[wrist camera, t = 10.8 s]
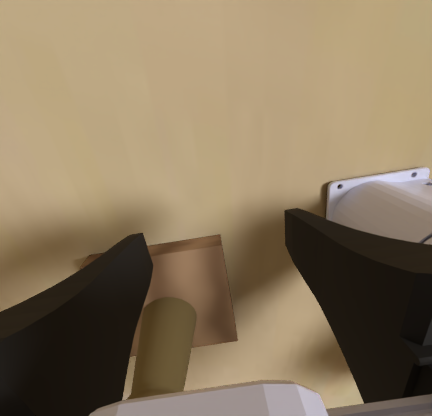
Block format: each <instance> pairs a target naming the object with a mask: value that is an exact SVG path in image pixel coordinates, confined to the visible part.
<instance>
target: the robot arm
mask: <svg viewBox="0 0 432 416" xmlns="http://www.w3.org/2000/svg"><path fill="white" fill-rule="evenodd" d="M412 173H413V175H412ZM429 173H430V170H429V168H426V167H420V168H414V169H408V170H401V171H395V172H389V173H383V174H377V175H370V176H364V177H358V178H352V179H345V180H339V181H333V182H331V183H329V185H328V191H327V209H326V219H325V218H322V217H319V216H317V215H314V214H312V213H309V212H307V211H304V210H301V209H298V208H296V209H289V210H285V243H286V247H287V249H288V252H289V254H290V256H291V258H292V261H293V262H294V264H295V266H296V267H297V269H298V271H299V272H300V274H301V275H302V277H303V279H304V280H305V282H306V283H307V285H308V286H309V288H310V290H311V291H312V293H313V294H314V296H315V298H316V299H317V301H318V303H319V305H320V306H321V308H322V310H323V312H324V314H325V316H326V319H327V321H328V323H329V325H330V327H331V329H332V331H333V333H334V335H335V337H336V340H337V342H338V344H339V346H340V348H341V350H342V353H343V355H344V357H345V359H346V362H347V364H348V366H349V368H350V371H351V373H352V375H353V378H354V380H355V382H356V385H357V387H358V389H359V392H360V394H361V397H362V399H363V402H364V404H359V405H351V406H344V407H337V408H330V409H325V406H324V404H323V402H322V399H321V397H320V395H319V394H318V393H316V392H314V391H313V390H311V389H309V388H306V387H304V386H302V385H299V384H297V383H295V382H293V381H286V380H259V381H252V382H246V383H239V384H232V385H225V386H218V387H211V388H204V389H197V390H190V391H183V392H177V393H170V394H163V395H156V396H149V397H142V398H135V399H128V400H123V401H122V397H123V391H124V385H125V379H126V374H127V369H128V363H129V358H130V353H131V348H132V344H133V339H134V334H135V331H136V327H137V324H138V321H139V318H140V315H141V311H142V308H143V305H144V302H145V299H146V296H147V293H148V290H149V287H150V283H151V278H152V272H153V262H152V259H151V256H150V253H149V250H148V247H147V244H146V241H145V239H144V236H143V233H138V234H132V235H129V236H127V237H126V238H124V239H123V240H121V241H120V242H119V243H117V244H116V245H115V246H113V247H112V248H111V249H109V250H108V251H106V252H105V253H104V254H102V255H101V256H100V257H98V258H97V259H95V260H94V261H92V262H91V263H90V264H88V265H87V266H85V267H84V268H82V269H81V270H79V271H78V272H76V273H75V274H73V275H71V276H70V277H68V278H66V279H65V280H63V281H61V282H60V283H58V284H56V285H54V286H53V287H51V288H49V289H47V290H45V291H43V292H41V293H39V294H37V295H35V296H33V297H31V298H29V299H27V300H26V301H23V302H21V303H19V304H17V305H15V306H13V307H11V308H8V309H6V310H4V311H2V312H0V416H432V179H429V178H428V177H429ZM411 175H412V176H411ZM339 184H340V187H339V188H337V187H338V185H339Z"/></svg>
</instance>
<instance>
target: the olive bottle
mask: <svg viewBox="0 0 432 416" xmlns="http://www.w3.org/2000/svg"><path fill="white" fill-rule="evenodd" d="M196 321H197V314H196V311H195V309H194V308H193V307H192V306H191V305H190V304H189V303H188V302H186V301H184V300H182V299H178V298H174V297H164V298H160V299H156V300H154V301H152V302H151V303H149V304H148V305H147V306H146V308H145V309H144V312H143V316H142V322H141V329H140V336H139V343H138V350H137V357H136V363H135V370H134V377H133V384H132V391H131V395H130V396H129V397H128V398H127V399H126V400H128V399H135V398H142V397H149V396H156V395H163V394H170V393H177V392H183V390H184V385H185V379H186V374H187V369H188V363H189V358H190V353H191V347H192V342H193V337H194V331H195V326H196Z"/></svg>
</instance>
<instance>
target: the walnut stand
mask: <svg viewBox="0 0 432 416" xmlns="http://www.w3.org/2000/svg"><path fill="white" fill-rule="evenodd" d="M147 247H148V250H149V253H150V256H151V259H152V262H153V272H152V278H151V283H150V287H149V290H148V293H147V296H146V299H145V302H144V305H143V308H142V311H141V315H140V318H139V321H138V324H137V327H136V331H135V334H134V339H133V344H132V348H131V353H130V357H132V356H137V350H138V343H139V336H140V329H141V322H142V316H143V312H144V309H145V308H146V306H147V305H148V304H149V303H151V302H152V301H154V300H156V299H160V298H164V297H174V298H178V299H182V300H184V301H186V302H188V303H189V304H190V305H191V306H192V307H193V308H194V309H195V311H196V314H197V321H196V326H195V331H194V337H193V342H192V347H191V348H193V347H199V346H206V345H213V344H220V343H226V342H233V341H238V339H237V332H236V325H235V319H234V314H233V308H232V302H231V296H230V290H229V284H228V278H227V272H226V266H225V260H224V254H223V249H222V243H221V237H220V235H215V236H208V237H202V238H196V239H189V240H183V241H177V242H170V243H164V244H158V245H151V246H147ZM102 254H104V253H101V254H94V255H89V257H88V258H87V259H86V260H85V262H84V263H83V264H82V265H81V267H80V269H82V268H84V267H85V266H87V265H88V264H90V263H91V262H92V261H94V260H95V259H97V258H98V257H100V256H101V255H102Z"/></svg>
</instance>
